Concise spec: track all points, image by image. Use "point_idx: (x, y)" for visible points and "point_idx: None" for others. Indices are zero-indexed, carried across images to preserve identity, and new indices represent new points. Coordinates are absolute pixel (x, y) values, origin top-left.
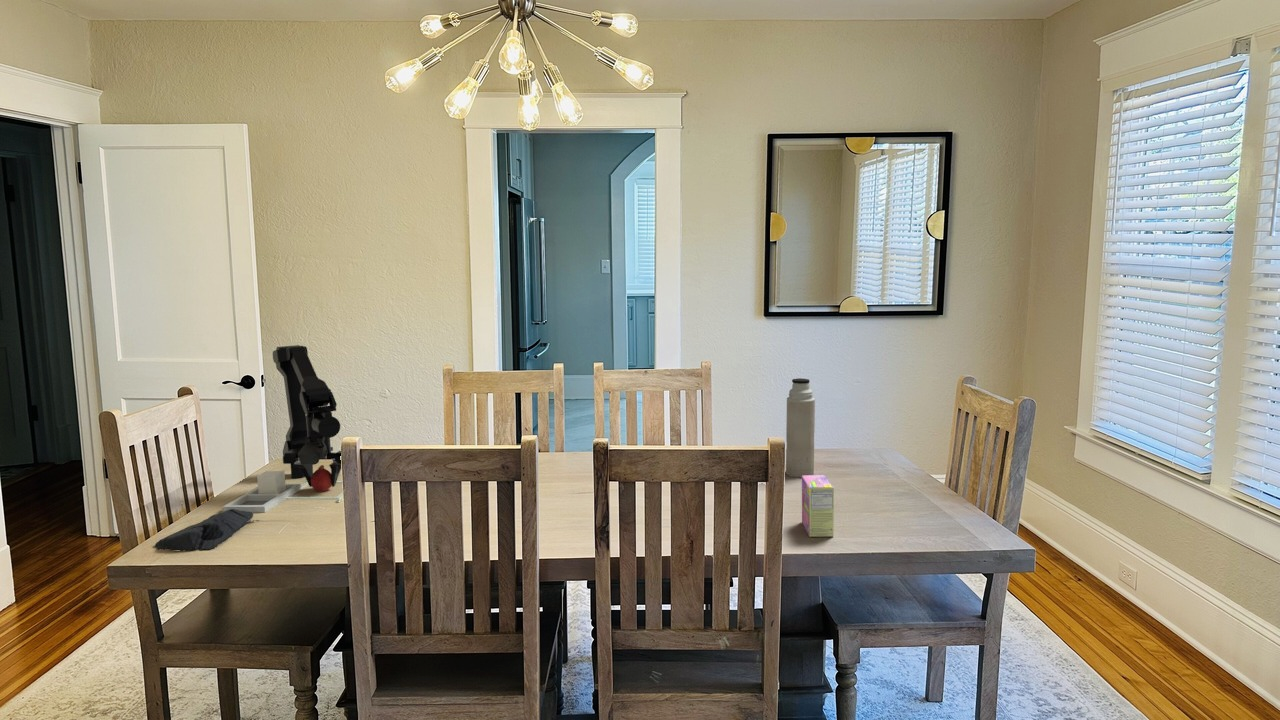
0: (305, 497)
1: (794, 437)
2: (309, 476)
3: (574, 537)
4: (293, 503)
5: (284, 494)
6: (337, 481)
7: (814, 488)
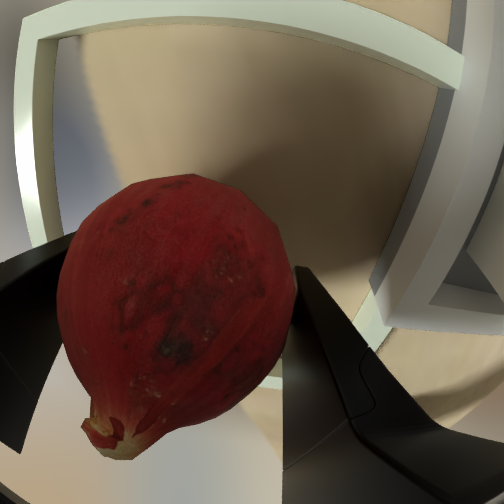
0: (291, 9)
1: None
2: (309, 345)
3: None
4: (385, 12)
5: (490, 43)
6: None
7: None
